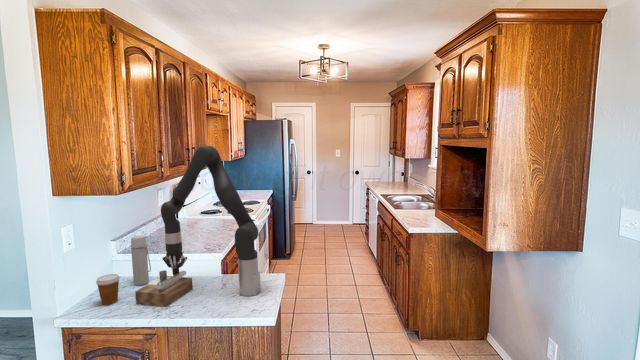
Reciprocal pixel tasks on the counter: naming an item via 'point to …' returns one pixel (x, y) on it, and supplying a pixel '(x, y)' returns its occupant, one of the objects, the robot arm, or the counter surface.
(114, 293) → the disposable coffee cup
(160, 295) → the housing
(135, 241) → the water bottle
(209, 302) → the counter surface
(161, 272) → the lid
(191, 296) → the counter surface
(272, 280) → the counter surface
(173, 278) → the latch bar
